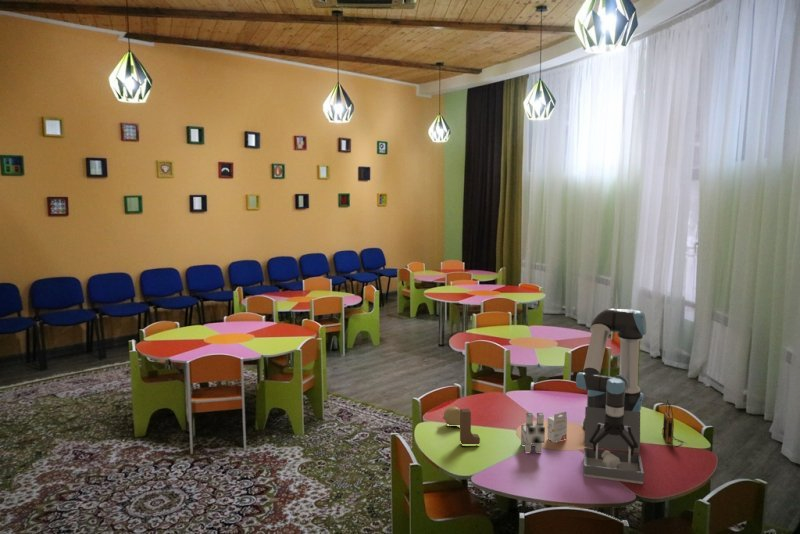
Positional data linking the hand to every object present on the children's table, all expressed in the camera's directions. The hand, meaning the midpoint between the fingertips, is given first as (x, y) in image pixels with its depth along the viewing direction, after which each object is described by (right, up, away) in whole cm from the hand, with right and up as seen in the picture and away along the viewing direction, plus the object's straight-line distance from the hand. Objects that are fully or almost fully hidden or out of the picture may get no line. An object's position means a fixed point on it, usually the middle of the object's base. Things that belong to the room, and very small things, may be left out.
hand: (612, 459), depth 259 cm
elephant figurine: (0, -4, 0) cm, 4 cm away
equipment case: (0, -5, +1) cm, 5 cm away
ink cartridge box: (-16, -1, +33) cm, 36 cm away
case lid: (+4, +11, +10) cm, 15 cm away
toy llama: (-31, -3, +22) cm, 38 cm away
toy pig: (-66, +1, +50) cm, 83 cm away
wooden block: (-60, -2, +27) cm, 66 cm away
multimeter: (+42, -1, +30) cm, 52 cm away
